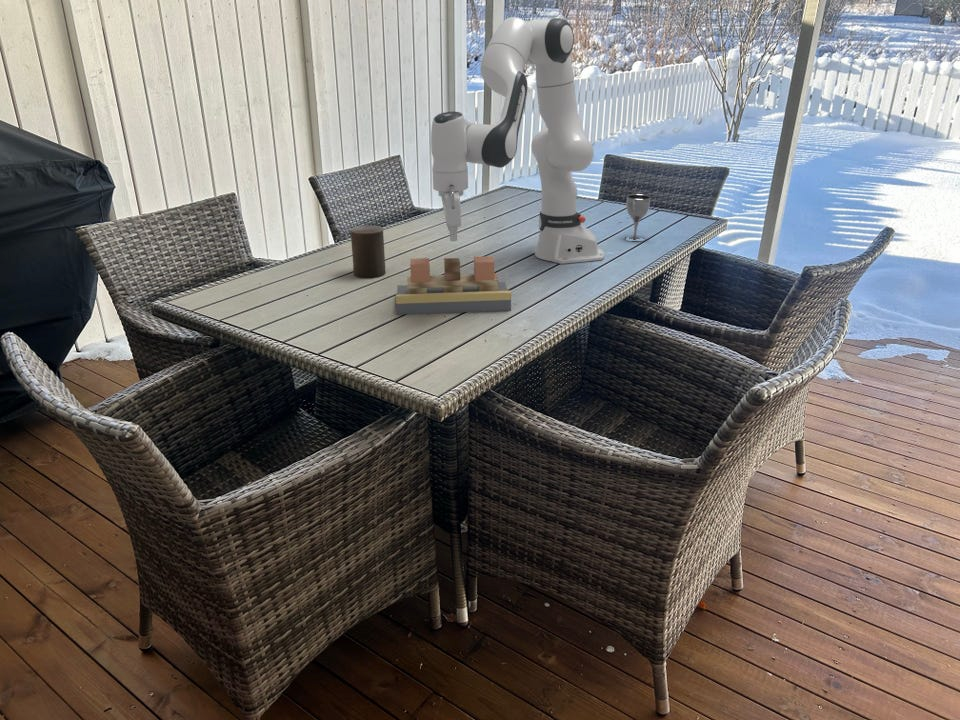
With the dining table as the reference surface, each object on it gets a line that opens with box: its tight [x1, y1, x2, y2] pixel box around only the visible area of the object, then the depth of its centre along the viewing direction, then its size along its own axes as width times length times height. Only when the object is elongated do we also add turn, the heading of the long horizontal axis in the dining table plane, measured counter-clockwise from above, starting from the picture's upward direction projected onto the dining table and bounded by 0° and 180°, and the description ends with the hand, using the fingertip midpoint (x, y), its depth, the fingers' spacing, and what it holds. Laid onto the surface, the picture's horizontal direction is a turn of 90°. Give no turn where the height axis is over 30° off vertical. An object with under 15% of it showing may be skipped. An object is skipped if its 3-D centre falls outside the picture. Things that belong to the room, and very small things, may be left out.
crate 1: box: [409, 257, 431, 283], centre depth 179 cm, size 5×5×5 cm
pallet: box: [406, 257, 499, 294], centre depth 180 cm, size 24×6×9 cm, turn 95°
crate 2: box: [473, 255, 495, 281], centre depth 180 cm, size 5×5×5 cm
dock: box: [395, 281, 512, 315], centre depth 183 cm, size 30×14×5 cm, turn 95°
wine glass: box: [626, 193, 652, 240], centre depth 235 cm, size 8×8×15 cm
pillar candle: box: [350, 225, 386, 279], centre depth 203 cm, size 10×10×15 cm
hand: (452, 235), depth 175 cm, fingers open, 8 cm apart
